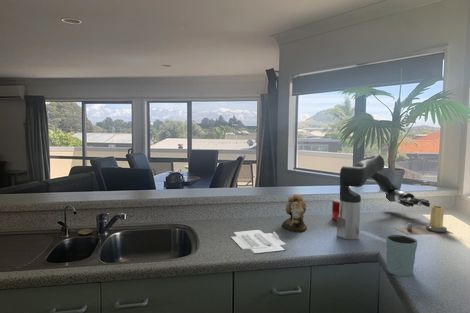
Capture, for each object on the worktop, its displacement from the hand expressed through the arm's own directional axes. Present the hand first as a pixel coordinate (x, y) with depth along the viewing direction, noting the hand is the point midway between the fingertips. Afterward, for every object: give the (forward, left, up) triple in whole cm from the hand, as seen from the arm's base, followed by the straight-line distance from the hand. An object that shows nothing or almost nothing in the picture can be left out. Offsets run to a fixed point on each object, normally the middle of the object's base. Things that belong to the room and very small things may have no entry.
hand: (421, 204), depth 177 cm
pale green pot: (-56, -37, -12) cm, 68 cm away
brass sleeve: (-2, -11, -8) cm, 14 cm away
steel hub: (-2, -11, -10) cm, 15 cm away
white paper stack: (-90, +9, -12) cm, 91 cm away
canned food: (-32, +25, -12) cm, 42 cm away
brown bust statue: (-63, +22, -12) cm, 67 cm away
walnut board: (-9, -9, -11) cm, 17 cm away
